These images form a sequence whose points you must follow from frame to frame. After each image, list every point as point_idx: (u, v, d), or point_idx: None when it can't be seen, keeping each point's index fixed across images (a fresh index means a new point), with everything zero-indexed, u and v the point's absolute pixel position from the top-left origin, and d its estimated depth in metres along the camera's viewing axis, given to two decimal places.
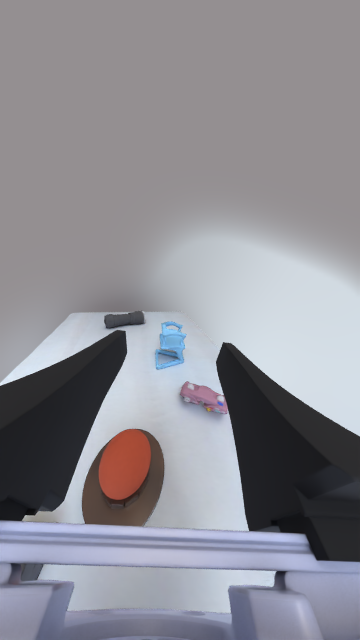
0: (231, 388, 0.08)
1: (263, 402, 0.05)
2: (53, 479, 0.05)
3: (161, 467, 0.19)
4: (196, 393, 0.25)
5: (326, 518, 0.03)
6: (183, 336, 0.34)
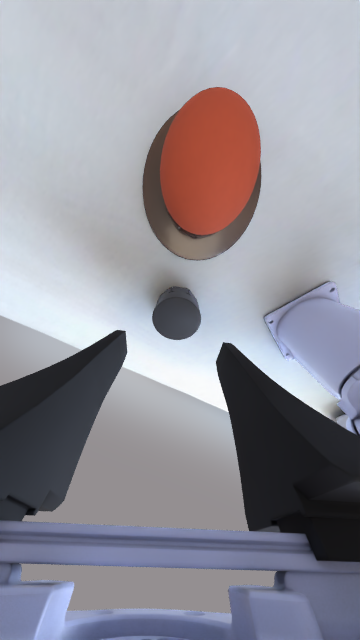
0: (231, 388, 0.08)
1: (263, 402, 0.05)
2: (53, 479, 0.05)
3: None
4: None
5: (326, 518, 0.03)
6: None
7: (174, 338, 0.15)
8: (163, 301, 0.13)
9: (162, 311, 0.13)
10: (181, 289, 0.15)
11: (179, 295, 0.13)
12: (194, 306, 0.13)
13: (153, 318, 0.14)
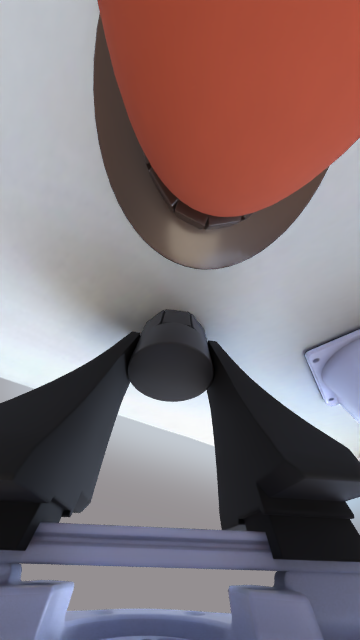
0: (213, 386, 0.08)
1: (236, 399, 0.05)
2: (84, 481, 0.05)
3: None
4: None
5: (286, 516, 0.03)
6: None
7: (167, 400, 0.09)
8: (145, 348, 0.07)
9: (143, 364, 0.07)
10: (179, 316, 0.09)
11: (175, 335, 0.07)
12: (203, 357, 0.07)
13: (129, 373, 0.08)
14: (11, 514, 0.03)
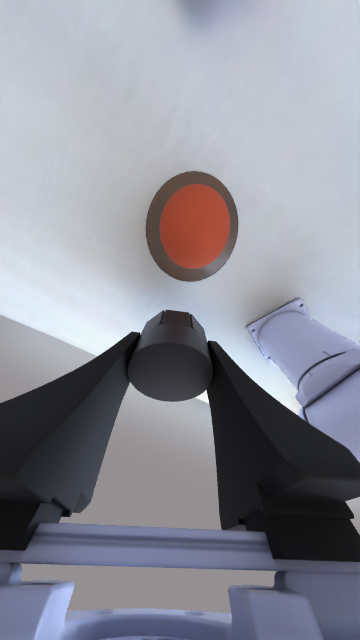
0: (213, 386, 0.08)
1: (236, 399, 0.05)
2: (84, 481, 0.05)
3: (227, 196, 0.13)
4: None
5: (286, 516, 0.03)
6: None
7: (167, 400, 0.09)
8: (145, 348, 0.07)
9: (143, 364, 0.07)
10: (179, 316, 0.09)
11: (175, 335, 0.07)
12: (203, 357, 0.07)
13: (129, 373, 0.08)
14: (11, 514, 0.03)
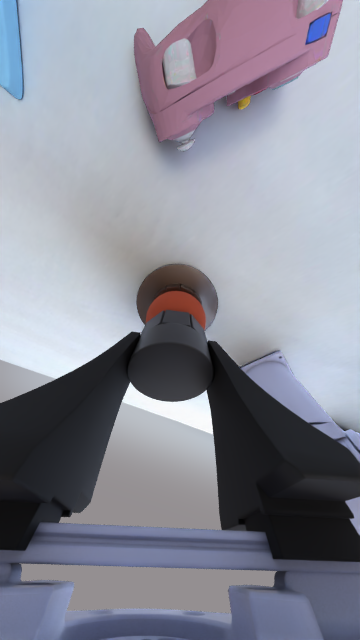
0: (213, 386, 0.08)
1: (236, 399, 0.05)
2: (84, 481, 0.05)
3: (206, 281, 0.15)
4: (215, 88, 0.06)
5: (285, 516, 0.03)
6: None
7: (167, 400, 0.09)
8: (144, 348, 0.07)
9: (143, 364, 0.07)
10: (179, 316, 0.09)
11: (175, 335, 0.07)
12: (203, 357, 0.07)
13: (129, 373, 0.08)
14: (11, 514, 0.03)
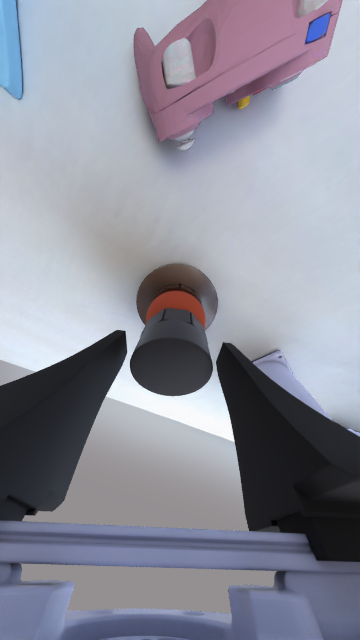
0: (231, 388, 0.08)
1: (263, 402, 0.05)
2: (53, 479, 0.05)
3: (206, 281, 0.15)
4: (214, 88, 0.06)
5: (326, 518, 0.03)
6: None
7: (168, 394, 0.09)
8: (147, 344, 0.07)
9: (145, 359, 0.08)
10: (179, 313, 0.10)
11: (175, 331, 0.07)
12: (202, 352, 0.07)
13: (131, 368, 0.08)
14: None
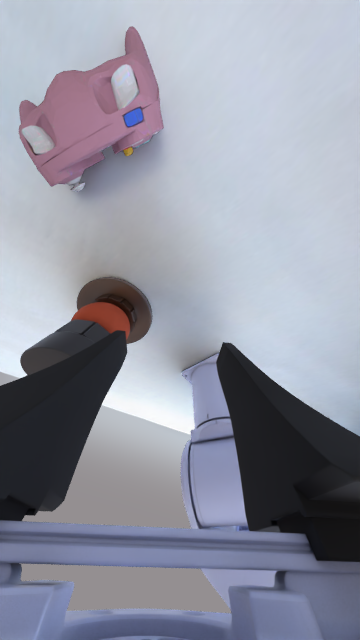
0: (231, 388, 0.08)
1: (263, 402, 0.05)
2: (53, 479, 0.05)
3: (135, 292, 0.17)
4: (67, 157, 0.08)
5: (326, 518, 0.03)
6: None
7: None
8: (26, 351, 0.09)
9: (31, 363, 0.10)
10: (80, 325, 0.12)
11: (53, 342, 0.09)
12: None
13: (25, 370, 0.10)
14: None
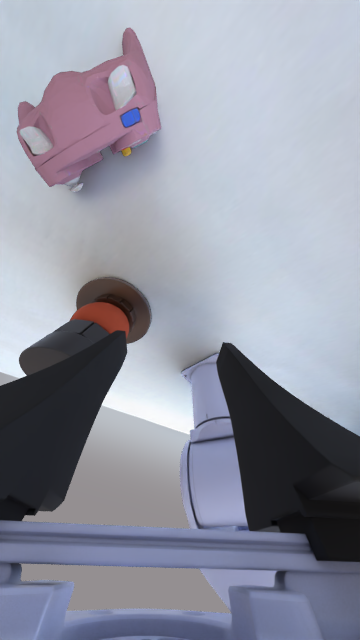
0: (231, 388, 0.08)
1: (263, 402, 0.05)
2: (53, 479, 0.05)
3: (134, 292, 0.17)
4: (64, 158, 0.08)
5: (326, 518, 0.03)
6: None
7: None
8: (25, 351, 0.09)
9: (30, 363, 0.10)
10: (79, 324, 0.12)
11: (51, 341, 0.09)
12: None
13: (24, 370, 0.10)
14: None
